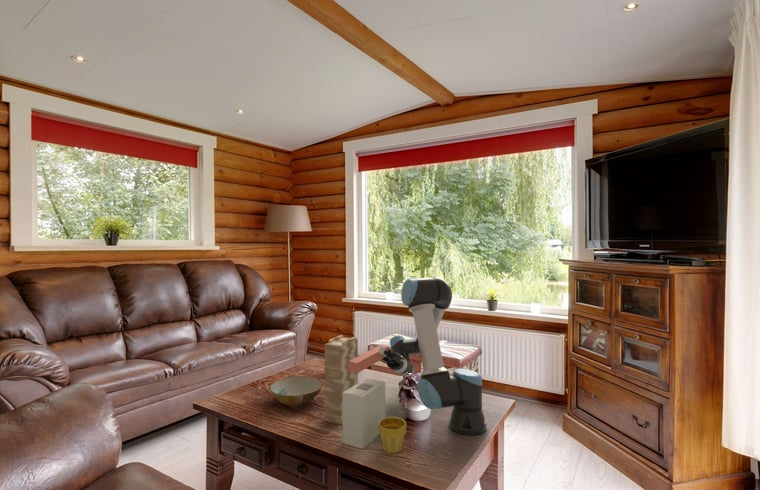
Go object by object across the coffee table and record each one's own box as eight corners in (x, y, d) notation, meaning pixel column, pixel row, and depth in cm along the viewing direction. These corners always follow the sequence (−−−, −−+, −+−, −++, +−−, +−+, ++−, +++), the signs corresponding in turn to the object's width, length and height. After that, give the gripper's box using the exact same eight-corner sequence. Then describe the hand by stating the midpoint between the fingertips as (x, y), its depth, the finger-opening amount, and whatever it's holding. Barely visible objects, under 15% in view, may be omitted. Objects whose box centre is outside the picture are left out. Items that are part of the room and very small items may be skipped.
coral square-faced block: (380, 353, 177) (380, 344, 177) (388, 354, 175) (388, 345, 175) (348, 371, 155) (348, 361, 154) (357, 373, 153) (357, 363, 152)
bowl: (329, 406, 187) (329, 389, 187) (275, 417, 177) (275, 399, 176) (314, 388, 210) (314, 373, 210) (265, 396, 199) (265, 380, 199)
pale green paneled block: (366, 423, 170) (366, 377, 170) (385, 428, 166) (385, 381, 165) (342, 443, 154) (342, 392, 154) (362, 448, 150) (362, 396, 150)
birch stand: (342, 407, 187) (342, 334, 186) (359, 411, 183) (359, 336, 182) (323, 420, 174) (322, 341, 173) (340, 424, 169) (340, 344, 169)
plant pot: (403, 458, 144) (402, 431, 144) (375, 453, 147) (375, 427, 147) (408, 443, 154) (408, 418, 154) (382, 440, 157) (382, 415, 156)
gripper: (411, 373, 181) (391, 360, 163) (378, 367, 189) (355, 354, 171) (415, 357, 184) (395, 342, 166) (382, 351, 192) (360, 337, 174)
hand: (375, 348), depth 169 cm, fingers closed on coral square-faced block, 4 cm apart
